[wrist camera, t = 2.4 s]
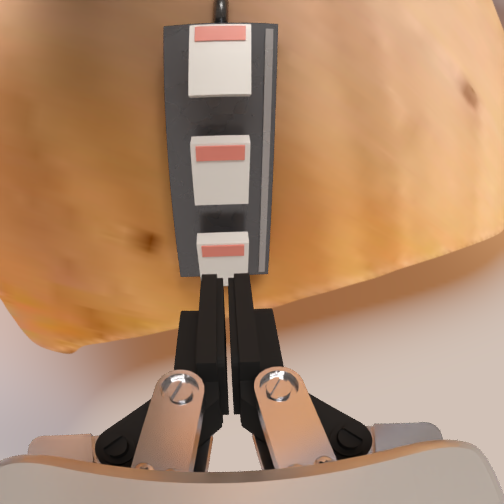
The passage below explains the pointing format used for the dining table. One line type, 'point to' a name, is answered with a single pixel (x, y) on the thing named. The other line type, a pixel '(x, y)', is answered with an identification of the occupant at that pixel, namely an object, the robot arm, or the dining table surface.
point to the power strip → (214, 124)
